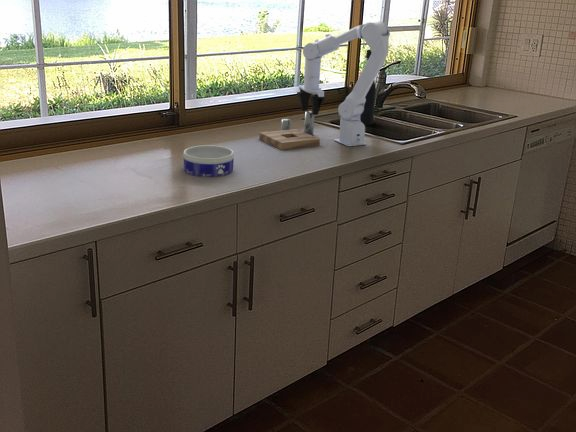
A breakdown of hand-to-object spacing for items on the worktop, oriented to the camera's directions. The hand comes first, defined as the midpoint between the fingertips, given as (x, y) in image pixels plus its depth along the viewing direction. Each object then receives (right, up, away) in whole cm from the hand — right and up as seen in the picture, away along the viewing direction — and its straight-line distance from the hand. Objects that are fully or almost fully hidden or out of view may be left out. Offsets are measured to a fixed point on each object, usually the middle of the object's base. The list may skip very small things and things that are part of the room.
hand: (309, 112), depth 242 cm
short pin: (-9, -7, +6) cm, 13 cm away
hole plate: (-8, -12, -9) cm, 17 cm away
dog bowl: (-33, -25, -45) cm, 61 cm away
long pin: (0, -8, +3) cm, 9 cm away
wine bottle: (+24, 0, +27) cm, 36 cm away
